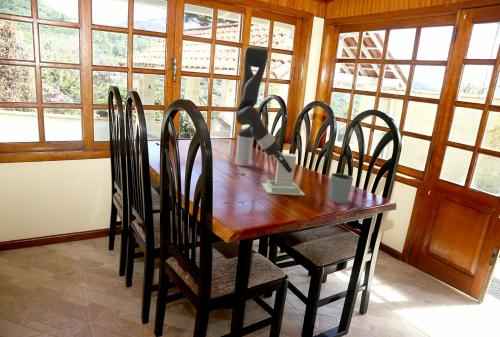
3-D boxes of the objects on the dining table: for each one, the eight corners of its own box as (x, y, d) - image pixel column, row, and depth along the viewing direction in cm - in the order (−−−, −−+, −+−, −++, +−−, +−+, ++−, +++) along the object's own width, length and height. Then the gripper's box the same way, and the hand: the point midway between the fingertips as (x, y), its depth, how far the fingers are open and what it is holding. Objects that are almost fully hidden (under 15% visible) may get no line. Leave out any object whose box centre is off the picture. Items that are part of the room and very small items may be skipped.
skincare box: (290, 183, 173) (295, 153, 170) (292, 186, 168) (297, 156, 164) (273, 181, 173) (278, 151, 169) (275, 184, 167) (279, 154, 163)
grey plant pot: (338, 205, 158) (343, 179, 155) (322, 197, 166) (326, 173, 163) (352, 202, 164) (357, 178, 161) (336, 195, 172) (340, 172, 169)
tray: (261, 184, 176) (262, 179, 175) (295, 186, 179) (296, 181, 179) (267, 193, 163) (268, 188, 162) (304, 195, 166) (305, 190, 165)
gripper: (278, 141, 157) (299, 168, 162) (270, 135, 170) (290, 161, 175) (265, 151, 157) (286, 178, 162) (258, 145, 170) (278, 170, 176)
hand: (288, 169), depth 169 cm, fingers closed on skincare box, 6 cm apart
